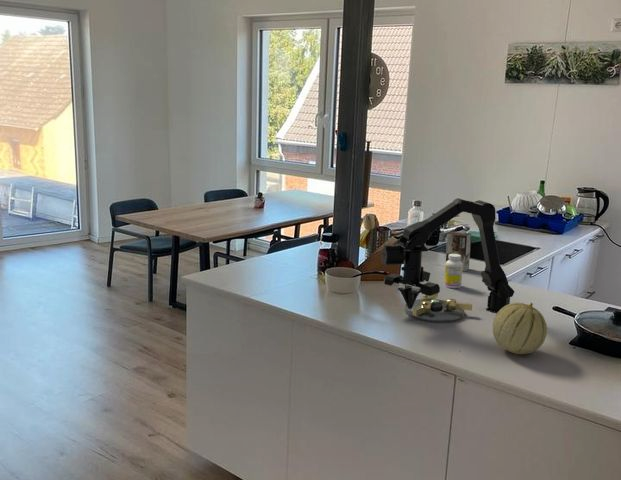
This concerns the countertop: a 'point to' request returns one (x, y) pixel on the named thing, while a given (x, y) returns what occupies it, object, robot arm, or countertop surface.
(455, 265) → the supplement bottle
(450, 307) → the knob
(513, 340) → the cantaloupe
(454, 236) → the coffee box
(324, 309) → the countertop surface
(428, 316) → the tribrach plate
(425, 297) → the knob
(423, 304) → the knob
